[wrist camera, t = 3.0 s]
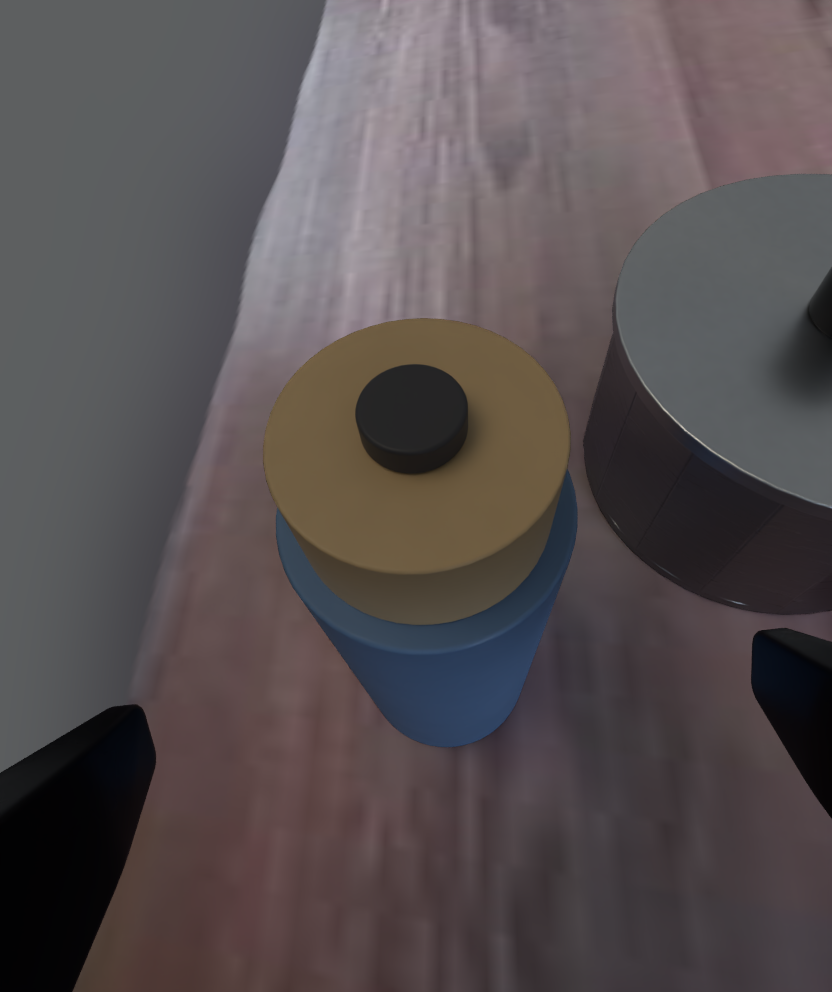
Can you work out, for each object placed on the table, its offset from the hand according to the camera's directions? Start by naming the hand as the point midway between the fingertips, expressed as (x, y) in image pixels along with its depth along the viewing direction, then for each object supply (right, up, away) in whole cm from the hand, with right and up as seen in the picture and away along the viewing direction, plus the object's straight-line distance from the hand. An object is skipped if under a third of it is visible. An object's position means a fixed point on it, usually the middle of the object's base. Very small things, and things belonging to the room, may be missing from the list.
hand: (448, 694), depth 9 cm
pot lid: (+11, +7, +7) cm, 15 cm away
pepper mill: (0, -2, +10) cm, 10 cm away
